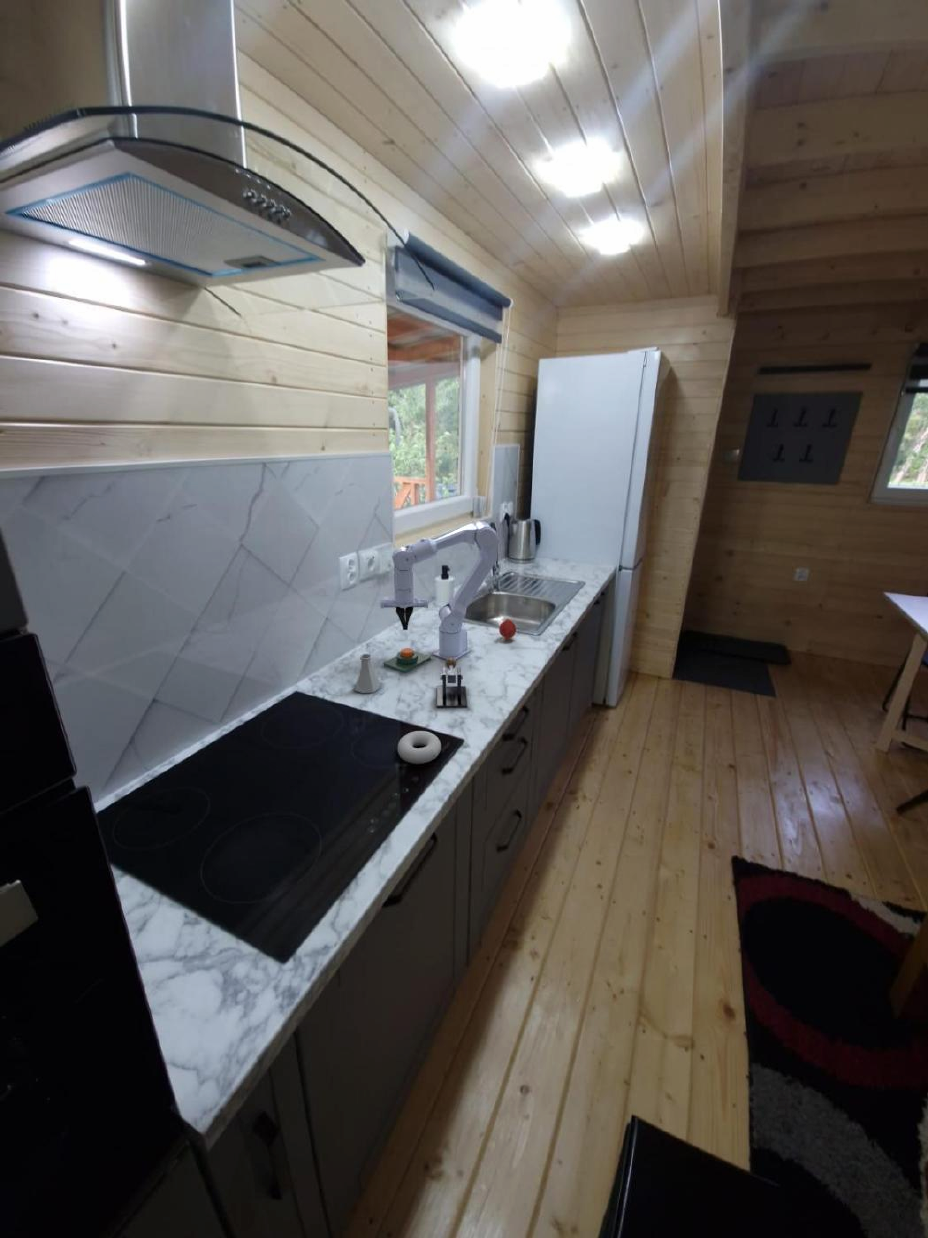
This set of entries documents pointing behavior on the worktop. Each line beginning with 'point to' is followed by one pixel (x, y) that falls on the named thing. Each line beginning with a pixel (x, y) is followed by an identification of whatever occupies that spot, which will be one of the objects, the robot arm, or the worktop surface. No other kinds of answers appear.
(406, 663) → the control block
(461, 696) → the bracket
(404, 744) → the donut
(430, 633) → the worktop surface
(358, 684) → the flask
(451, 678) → the lever
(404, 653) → the button
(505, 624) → the onion
